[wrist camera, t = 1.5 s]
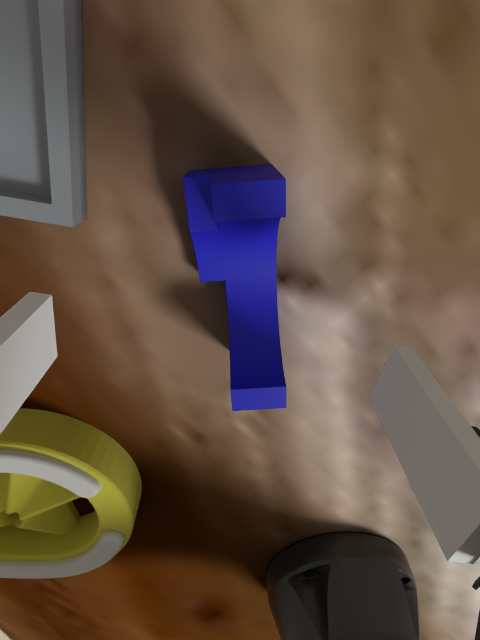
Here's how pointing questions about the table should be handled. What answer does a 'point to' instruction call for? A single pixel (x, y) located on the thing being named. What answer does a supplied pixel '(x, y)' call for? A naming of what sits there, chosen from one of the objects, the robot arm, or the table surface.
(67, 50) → the tray
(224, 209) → the blue long stepped piece
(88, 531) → the yellow rounded low piece
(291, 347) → the table surface
